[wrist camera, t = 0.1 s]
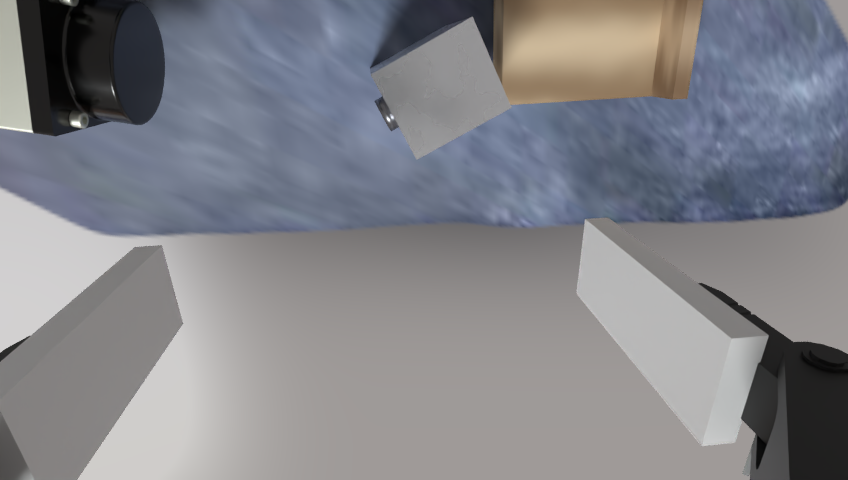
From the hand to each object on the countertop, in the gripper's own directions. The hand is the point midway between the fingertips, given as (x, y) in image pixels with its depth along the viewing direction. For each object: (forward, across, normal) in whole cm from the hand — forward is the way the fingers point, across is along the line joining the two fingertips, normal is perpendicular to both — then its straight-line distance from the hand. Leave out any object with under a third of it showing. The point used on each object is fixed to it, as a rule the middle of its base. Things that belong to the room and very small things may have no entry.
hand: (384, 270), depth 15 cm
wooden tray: (+28, +17, +10) cm, 34 cm away
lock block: (+28, +4, +4) cm, 29 cm away
